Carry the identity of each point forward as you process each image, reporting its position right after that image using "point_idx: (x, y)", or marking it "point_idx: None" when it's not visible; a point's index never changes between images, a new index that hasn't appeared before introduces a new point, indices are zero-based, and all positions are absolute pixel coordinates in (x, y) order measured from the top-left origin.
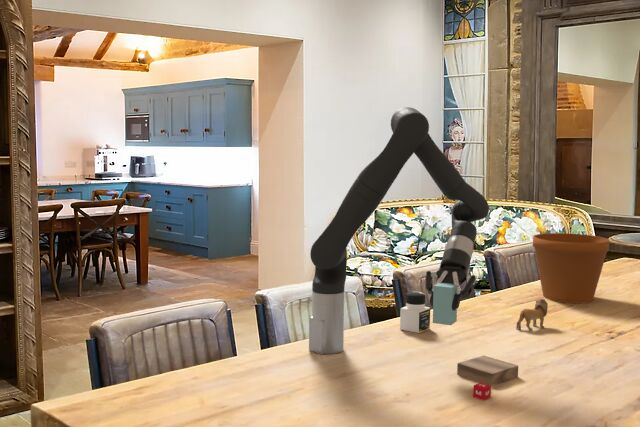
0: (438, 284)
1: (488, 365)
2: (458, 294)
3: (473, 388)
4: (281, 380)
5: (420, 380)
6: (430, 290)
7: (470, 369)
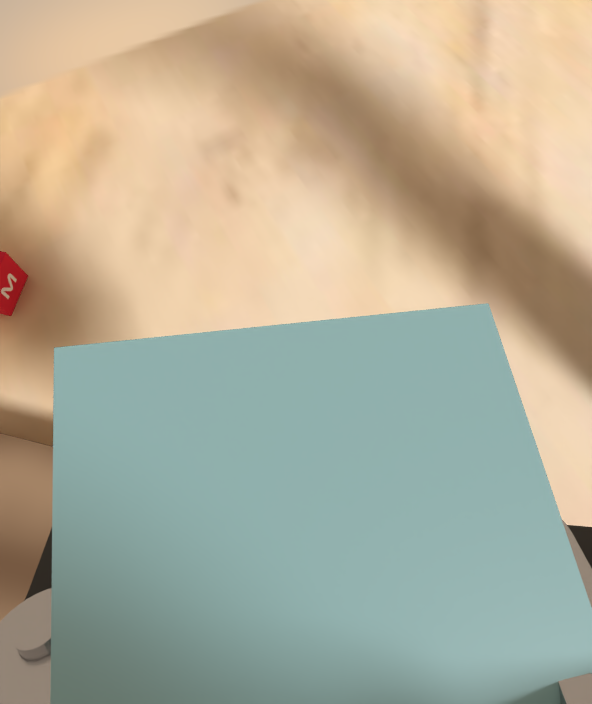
0: (497, 492)
1: (2, 541)
2: (37, 602)
3: (11, 259)
4: (553, 127)
5: (259, 324)
6: (581, 536)
7: None
